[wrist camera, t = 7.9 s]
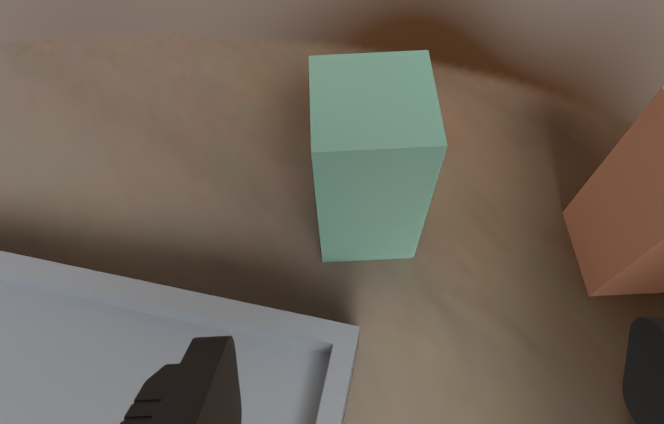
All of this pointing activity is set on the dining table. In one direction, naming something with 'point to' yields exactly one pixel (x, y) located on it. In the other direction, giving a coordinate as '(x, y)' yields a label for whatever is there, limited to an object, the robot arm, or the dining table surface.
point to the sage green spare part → (374, 151)
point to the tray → (154, 347)
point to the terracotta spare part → (624, 213)
